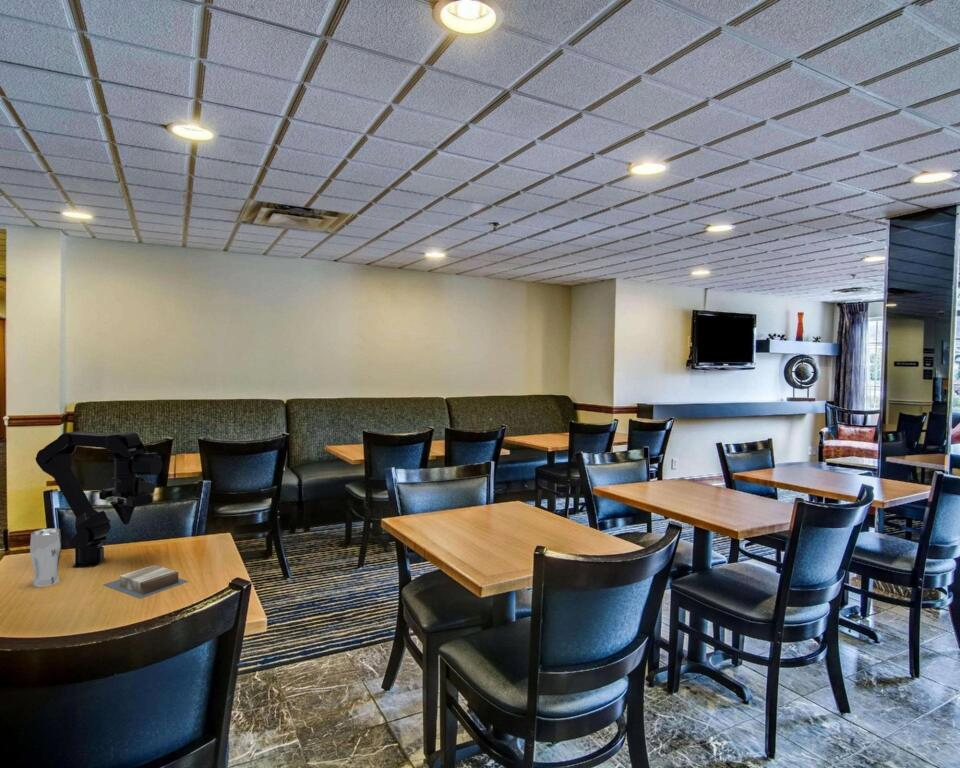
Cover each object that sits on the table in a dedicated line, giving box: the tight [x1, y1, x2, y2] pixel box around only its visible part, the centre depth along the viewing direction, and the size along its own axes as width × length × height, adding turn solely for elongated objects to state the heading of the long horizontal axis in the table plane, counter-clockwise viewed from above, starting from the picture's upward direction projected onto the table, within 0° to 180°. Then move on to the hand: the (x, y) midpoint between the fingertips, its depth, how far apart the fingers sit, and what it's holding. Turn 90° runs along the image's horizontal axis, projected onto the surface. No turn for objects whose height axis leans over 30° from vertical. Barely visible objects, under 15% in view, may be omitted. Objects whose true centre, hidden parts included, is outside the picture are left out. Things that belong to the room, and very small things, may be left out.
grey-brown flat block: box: [119, 564, 179, 595], centre depth 162 cm, size 3×10×11 cm
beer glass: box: [29, 527, 62, 588], centre depth 161 cm, size 7×7×15 cm
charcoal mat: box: [102, 577, 190, 600], centre depth 162 cm, size 18×14×1 cm
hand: (126, 524), depth 176 cm, fingers closed
